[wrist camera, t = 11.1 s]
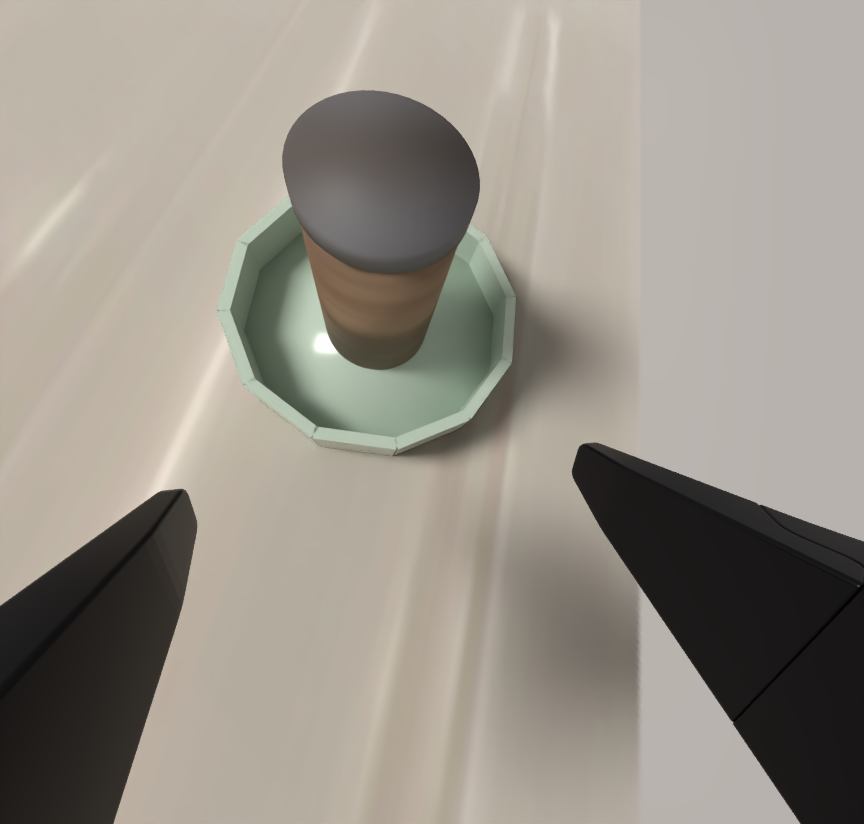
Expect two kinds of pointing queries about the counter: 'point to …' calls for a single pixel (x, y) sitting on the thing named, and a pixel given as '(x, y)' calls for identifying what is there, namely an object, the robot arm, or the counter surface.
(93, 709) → the robot arm
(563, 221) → the counter surface
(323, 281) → the walnut spice jar
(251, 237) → the sage green dish
